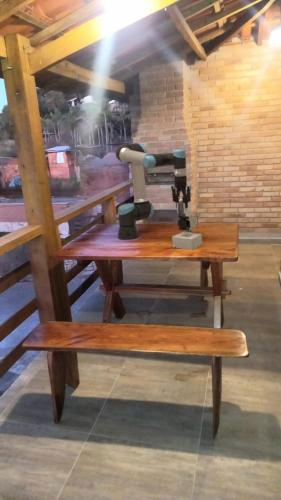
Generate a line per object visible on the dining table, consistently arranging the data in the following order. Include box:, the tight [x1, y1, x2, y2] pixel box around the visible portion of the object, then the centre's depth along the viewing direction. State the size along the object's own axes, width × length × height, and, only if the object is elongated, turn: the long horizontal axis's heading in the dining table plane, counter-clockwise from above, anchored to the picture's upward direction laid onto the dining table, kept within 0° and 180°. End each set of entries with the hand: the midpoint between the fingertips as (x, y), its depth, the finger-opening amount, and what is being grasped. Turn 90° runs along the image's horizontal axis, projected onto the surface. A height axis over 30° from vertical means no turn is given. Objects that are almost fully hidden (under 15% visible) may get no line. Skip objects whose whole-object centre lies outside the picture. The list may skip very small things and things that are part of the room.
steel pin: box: [178, 195, 186, 216], centre depth 239 cm, size 4×4×12 cm
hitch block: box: [171, 231, 203, 251], centre depth 245 cm, size 14×13×7 cm
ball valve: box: [177, 211, 199, 233], centre depth 263 cm, size 18×8×18 cm, turn 148°
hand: (182, 212), depth 241 cm, fingers closed on steel pin, 4 cm apart
